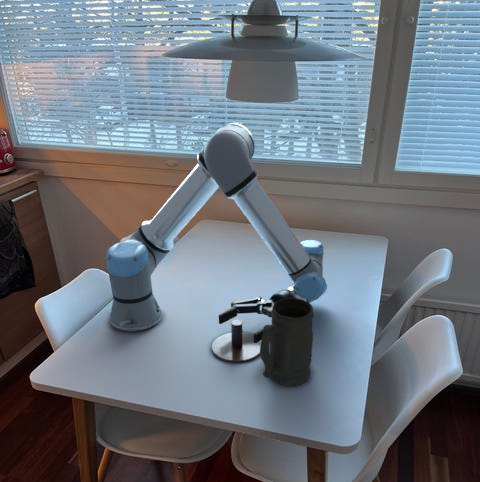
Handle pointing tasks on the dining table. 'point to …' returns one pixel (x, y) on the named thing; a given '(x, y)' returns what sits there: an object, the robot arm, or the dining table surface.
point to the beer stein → (288, 342)
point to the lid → (236, 345)
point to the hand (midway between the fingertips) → (236, 328)
